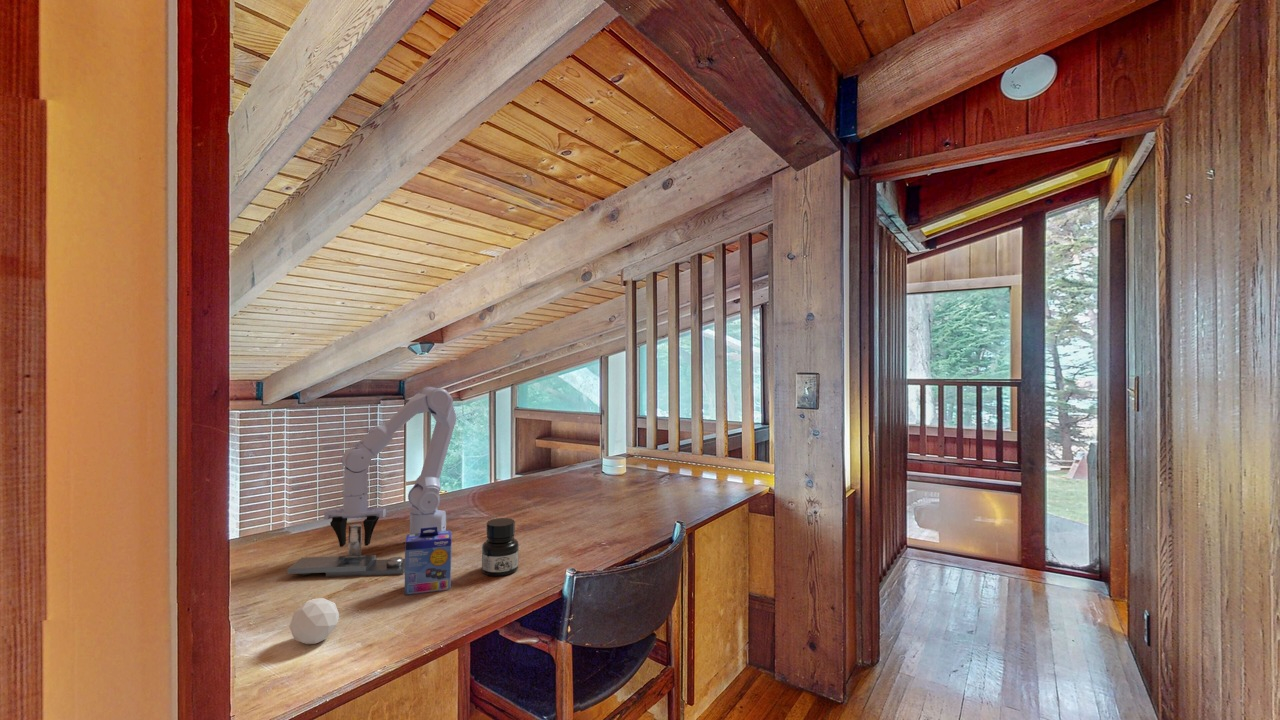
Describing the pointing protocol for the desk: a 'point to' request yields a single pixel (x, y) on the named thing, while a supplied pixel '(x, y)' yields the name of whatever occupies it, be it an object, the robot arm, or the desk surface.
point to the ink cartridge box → (428, 561)
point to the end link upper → (331, 564)
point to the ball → (314, 621)
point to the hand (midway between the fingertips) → (355, 545)
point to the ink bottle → (500, 548)
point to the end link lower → (375, 568)
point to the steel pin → (355, 539)
